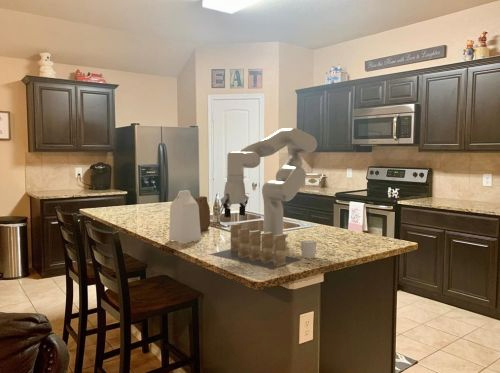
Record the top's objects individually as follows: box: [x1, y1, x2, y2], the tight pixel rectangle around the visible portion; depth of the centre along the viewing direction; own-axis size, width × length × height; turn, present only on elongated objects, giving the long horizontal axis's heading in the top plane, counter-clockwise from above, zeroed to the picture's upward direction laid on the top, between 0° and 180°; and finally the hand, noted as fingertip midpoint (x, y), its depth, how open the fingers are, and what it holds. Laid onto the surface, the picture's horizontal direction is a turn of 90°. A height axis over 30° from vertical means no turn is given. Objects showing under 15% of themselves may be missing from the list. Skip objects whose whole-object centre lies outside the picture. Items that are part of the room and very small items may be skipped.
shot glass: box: [300, 240, 317, 259], centre depth 178 cm, size 7×7×7 cm
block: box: [193, 195, 211, 232], centre depth 243 cm, size 11×8×20 cm
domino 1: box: [238, 227, 250, 258], centre depth 177 cm, size 2×5×12 cm, turn 138°
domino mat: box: [209, 248, 303, 270], centre depth 177 cm, size 20×36×1 cm, turn 48°
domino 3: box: [261, 232, 274, 263], centre depth 168 cm, size 2×5×12 cm, turn 138°
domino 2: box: [249, 229, 262, 261], centre depth 173 cm, size 2×5×12 cm, turn 138°
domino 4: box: [273, 233, 286, 267], centre depth 164 cm, size 2×5×12 cm, turn 138°
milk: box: [168, 190, 202, 244], centre depth 214 cm, size 12×12×26 cm
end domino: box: [230, 222, 242, 251], centre depth 190 cm, size 2×5×12 cm, turn 138°
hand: (234, 216), depth 189 cm, fingers open, 9 cm apart
